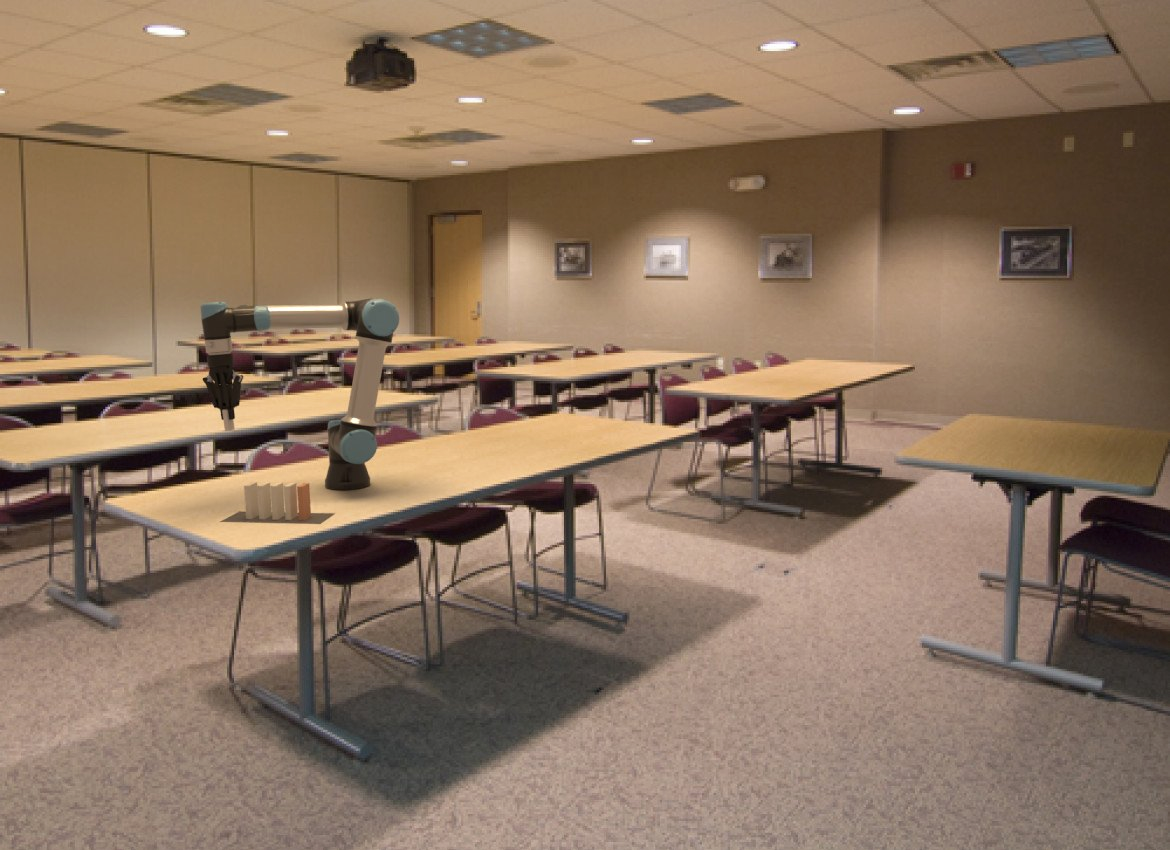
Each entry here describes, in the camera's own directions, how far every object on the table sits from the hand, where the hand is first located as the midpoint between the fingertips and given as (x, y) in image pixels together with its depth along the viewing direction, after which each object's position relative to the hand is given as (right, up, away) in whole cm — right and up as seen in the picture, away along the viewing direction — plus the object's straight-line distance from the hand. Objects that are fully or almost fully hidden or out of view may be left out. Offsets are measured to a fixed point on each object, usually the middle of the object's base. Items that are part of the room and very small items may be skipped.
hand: (229, 430), depth 277 cm
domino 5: (+27, -26, -11) cm, 39 cm away
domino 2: (+15, -26, -10) cm, 31 cm away
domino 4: (+23, -26, -11) cm, 36 cm away
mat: (+19, -26, -11) cm, 34 cm away
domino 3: (+19, -26, -11) cm, 34 cm away
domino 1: (+11, -26, -10) cm, 30 cm away
